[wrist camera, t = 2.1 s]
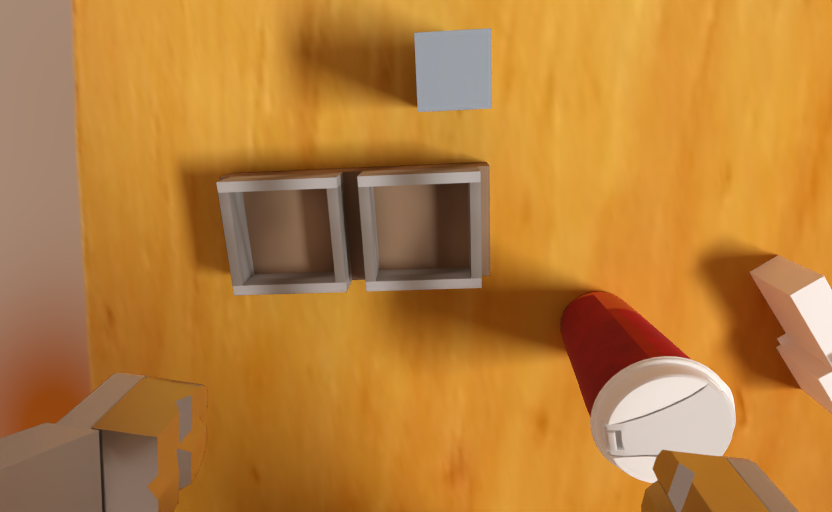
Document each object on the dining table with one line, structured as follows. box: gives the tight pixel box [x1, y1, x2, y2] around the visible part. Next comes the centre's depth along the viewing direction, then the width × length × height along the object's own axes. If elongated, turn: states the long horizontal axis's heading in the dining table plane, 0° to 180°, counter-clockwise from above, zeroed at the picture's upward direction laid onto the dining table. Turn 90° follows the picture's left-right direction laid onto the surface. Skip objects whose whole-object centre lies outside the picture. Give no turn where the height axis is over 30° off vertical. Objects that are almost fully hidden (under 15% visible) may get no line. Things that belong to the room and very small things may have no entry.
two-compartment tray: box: [216, 162, 490, 295], centre depth 38 cm, size 19×8×4 cm, turn 93°
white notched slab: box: [749, 255, 832, 413], centre depth 39 cm, size 15×11×6 cm
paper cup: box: [561, 292, 736, 483], centre depth 35 cm, size 8×8×14 cm
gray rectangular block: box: [414, 29, 492, 112], centre depth 32 cm, size 4×4×9 cm
